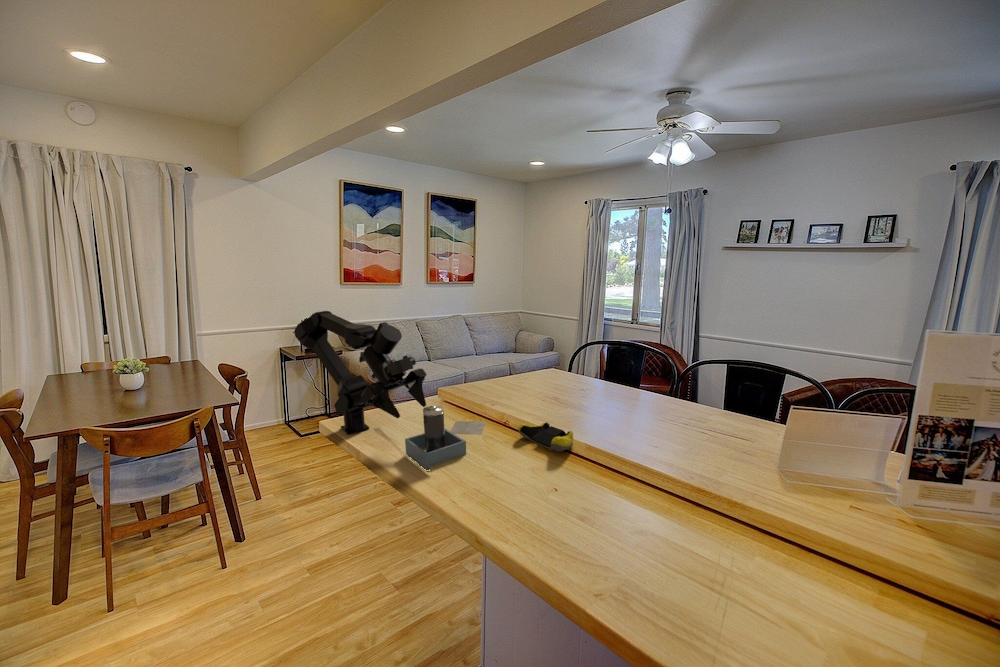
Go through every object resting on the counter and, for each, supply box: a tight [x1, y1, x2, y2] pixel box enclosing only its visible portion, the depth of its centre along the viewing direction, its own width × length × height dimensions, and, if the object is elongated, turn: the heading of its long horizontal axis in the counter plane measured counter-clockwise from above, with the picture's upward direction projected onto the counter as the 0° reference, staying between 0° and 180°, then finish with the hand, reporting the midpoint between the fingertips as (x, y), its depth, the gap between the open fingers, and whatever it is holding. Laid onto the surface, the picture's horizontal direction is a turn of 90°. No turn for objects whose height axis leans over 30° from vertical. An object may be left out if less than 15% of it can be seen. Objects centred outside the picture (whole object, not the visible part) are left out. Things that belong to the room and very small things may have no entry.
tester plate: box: [450, 420, 487, 435], centre depth 127 cm, size 9×9×1 cm
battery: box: [422, 404, 446, 453], centre depth 110 cm, size 5×5×13 cm
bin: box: [404, 427, 467, 470], centre depth 111 cm, size 11×11×4 cm
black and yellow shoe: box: [517, 422, 574, 453], centre depth 116 cm, size 15×6×10 cm
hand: (412, 411), depth 114 cm, fingers open, 9 cm apart
